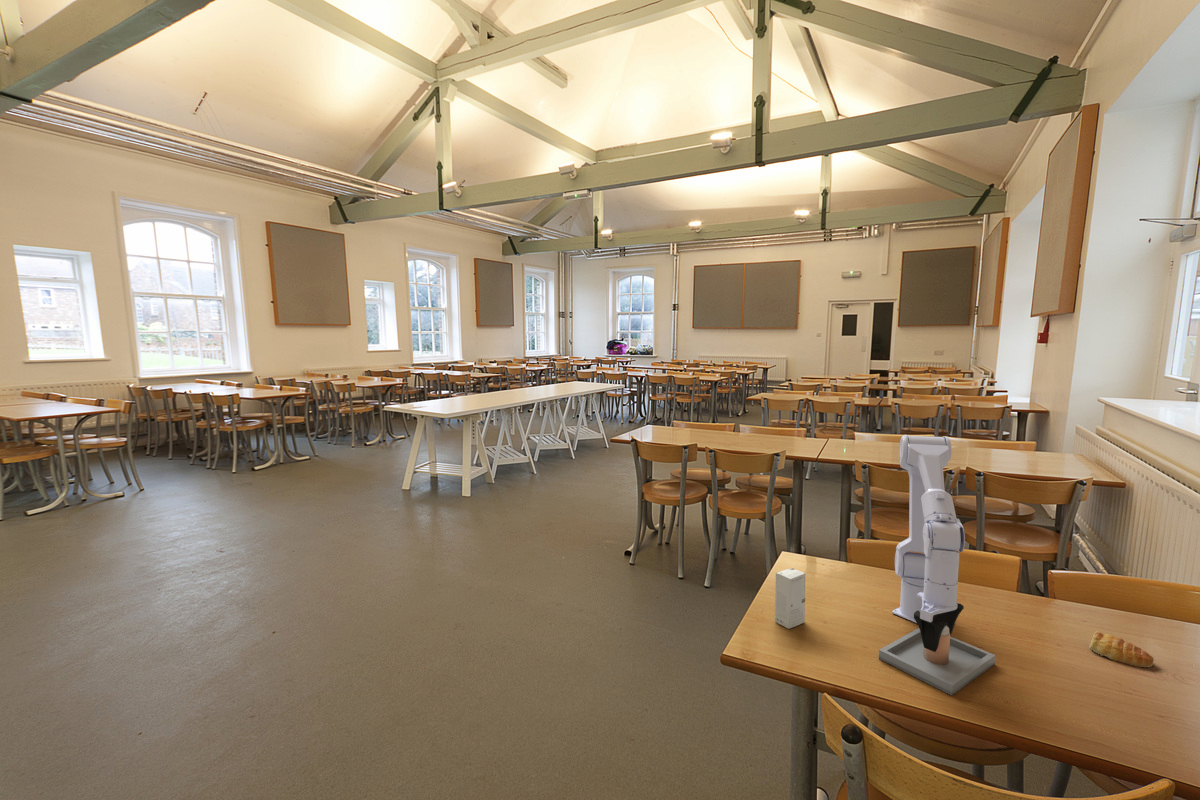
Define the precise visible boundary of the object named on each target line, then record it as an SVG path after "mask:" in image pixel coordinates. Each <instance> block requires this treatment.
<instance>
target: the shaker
mask: <svg viewBox="0 0 1200 800" xmlns="http://www.w3.org/2000/svg"><path fill="white" fill-rule="evenodd" d="M949 647H950V632H949V628H948V627H947V626H945V627H944V629H943V631H942V633H941V636H940V641H939V645H938V648H937V650H936V652H933V651H931V650H928V649H926V648H924V658H925V659H926V660H928V661H929V662H932V663H934V664H938V665H946V664H948V663H949Z"/></svg>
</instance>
